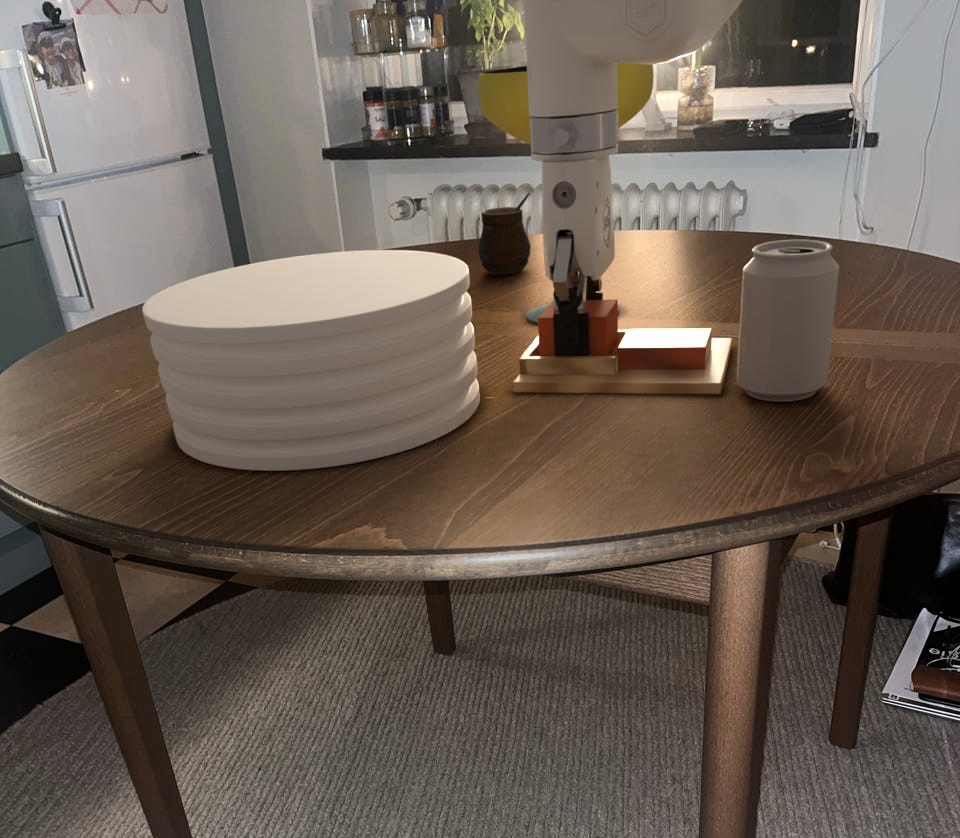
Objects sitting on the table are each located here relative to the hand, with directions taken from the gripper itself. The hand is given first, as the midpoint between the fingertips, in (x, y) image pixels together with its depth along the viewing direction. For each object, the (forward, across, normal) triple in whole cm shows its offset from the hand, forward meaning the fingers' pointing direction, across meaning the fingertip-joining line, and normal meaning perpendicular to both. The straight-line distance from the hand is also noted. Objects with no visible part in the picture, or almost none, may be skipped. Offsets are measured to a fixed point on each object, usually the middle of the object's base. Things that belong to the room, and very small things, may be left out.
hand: (579, 343), depth 93 cm
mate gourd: (+3, +44, +19) cm, 48 cm away
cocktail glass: (+3, +21, +5) cm, 22 cm away
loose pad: (+1, 0, 0) cm, 1 cm away
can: (+3, -6, -19) cm, 20 cm away
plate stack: (+3, -13, +21) cm, 25 cm away
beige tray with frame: (+2, 0, -4) cm, 5 cm away
